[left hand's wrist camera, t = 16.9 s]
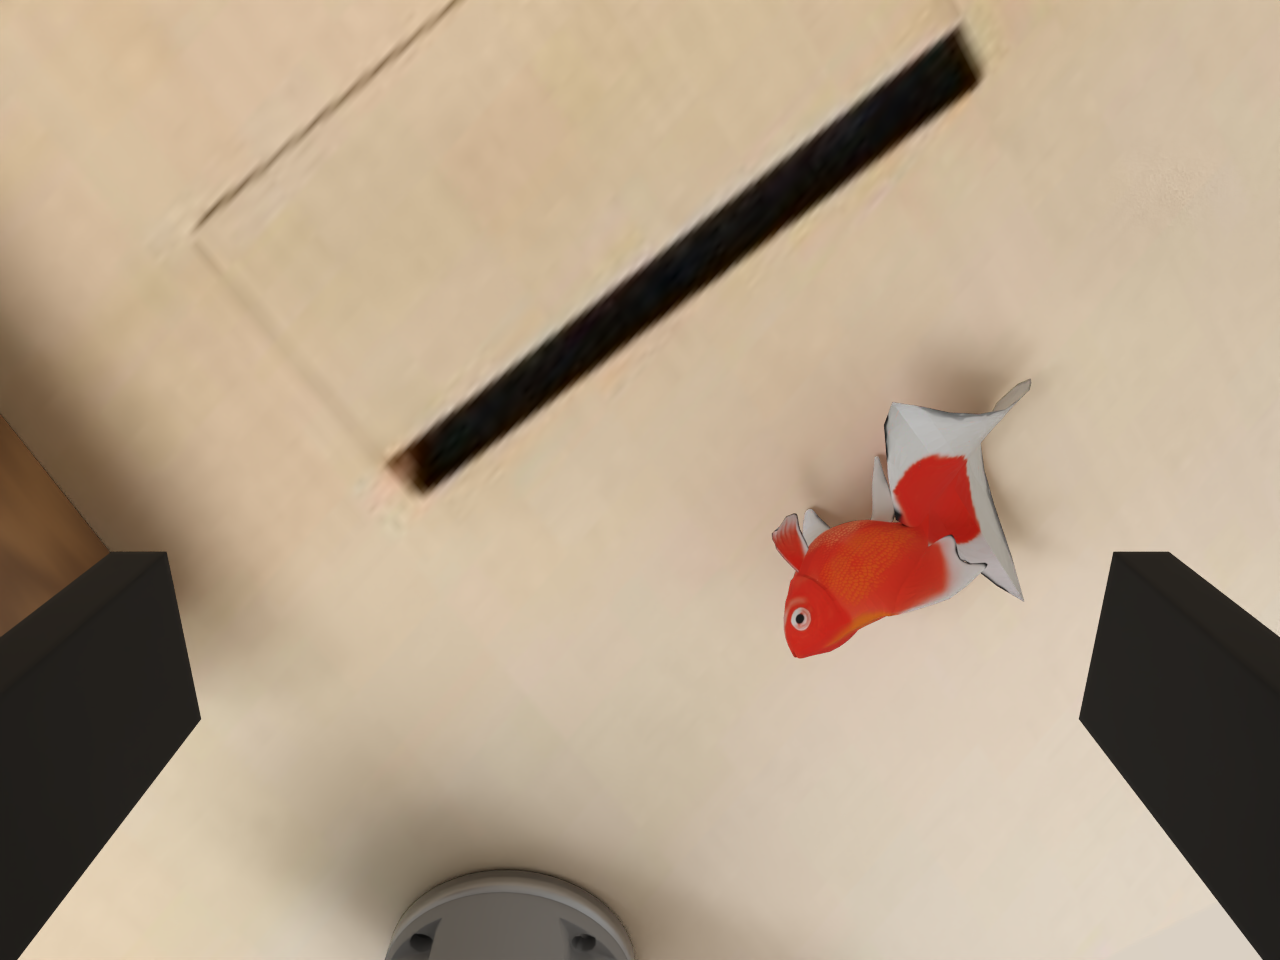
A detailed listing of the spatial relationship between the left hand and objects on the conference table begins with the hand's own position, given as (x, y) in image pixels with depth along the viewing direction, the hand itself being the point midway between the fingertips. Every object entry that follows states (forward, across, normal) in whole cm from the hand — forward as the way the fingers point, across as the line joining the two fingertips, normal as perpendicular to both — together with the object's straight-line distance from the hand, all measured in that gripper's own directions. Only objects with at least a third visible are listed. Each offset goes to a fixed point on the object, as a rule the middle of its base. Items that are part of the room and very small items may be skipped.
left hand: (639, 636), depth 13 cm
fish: (+30, -12, +9) cm, 34 cm away
